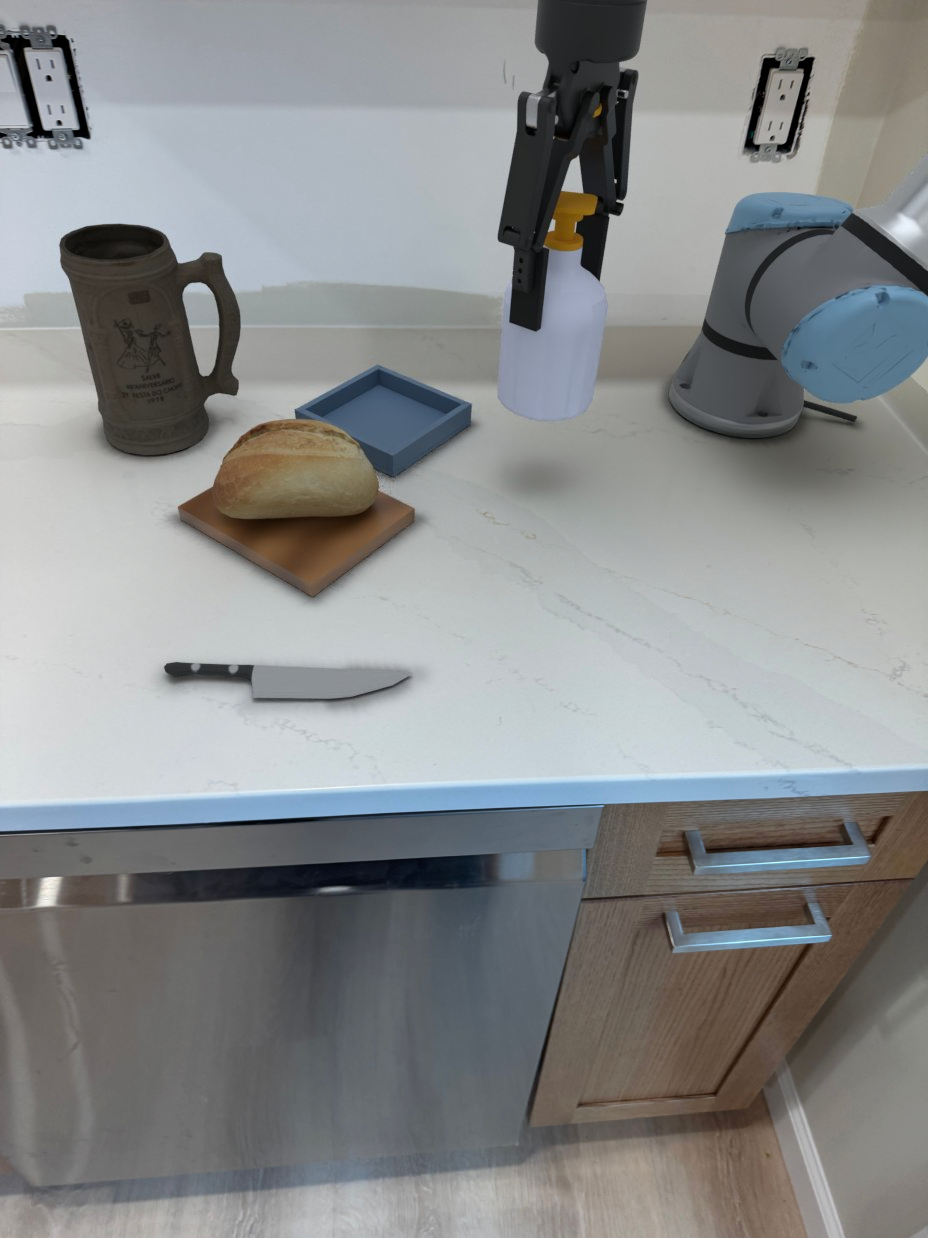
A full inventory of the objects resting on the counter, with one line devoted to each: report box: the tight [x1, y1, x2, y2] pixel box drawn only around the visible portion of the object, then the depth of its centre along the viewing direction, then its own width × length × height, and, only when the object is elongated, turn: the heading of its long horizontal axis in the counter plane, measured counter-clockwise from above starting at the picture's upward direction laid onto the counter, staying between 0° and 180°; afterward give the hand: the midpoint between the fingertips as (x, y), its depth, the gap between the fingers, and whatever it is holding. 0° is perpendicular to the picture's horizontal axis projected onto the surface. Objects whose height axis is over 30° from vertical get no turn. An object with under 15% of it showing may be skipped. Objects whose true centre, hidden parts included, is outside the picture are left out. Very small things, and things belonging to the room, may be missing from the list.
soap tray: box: [294, 364, 473, 478], centre depth 90 cm, size 14×14×3 cm
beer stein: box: [58, 223, 242, 456], centre depth 82 cm, size 15×11×20 cm
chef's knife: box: [163, 661, 414, 700], centre depth 63 cm, size 19×1×3 cm
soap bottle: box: [496, 103, 609, 423], centre depth 70 cm, size 9×9×25 cm
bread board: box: [177, 486, 416, 598], centre depth 77 cm, size 17×14×2 cm
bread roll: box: [212, 418, 380, 519], centre depth 74 cm, size 10×15×8 cm, turn 103°
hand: (555, 306), depth 72 cm, fingers closed on soap bottle, 9 cm apart
